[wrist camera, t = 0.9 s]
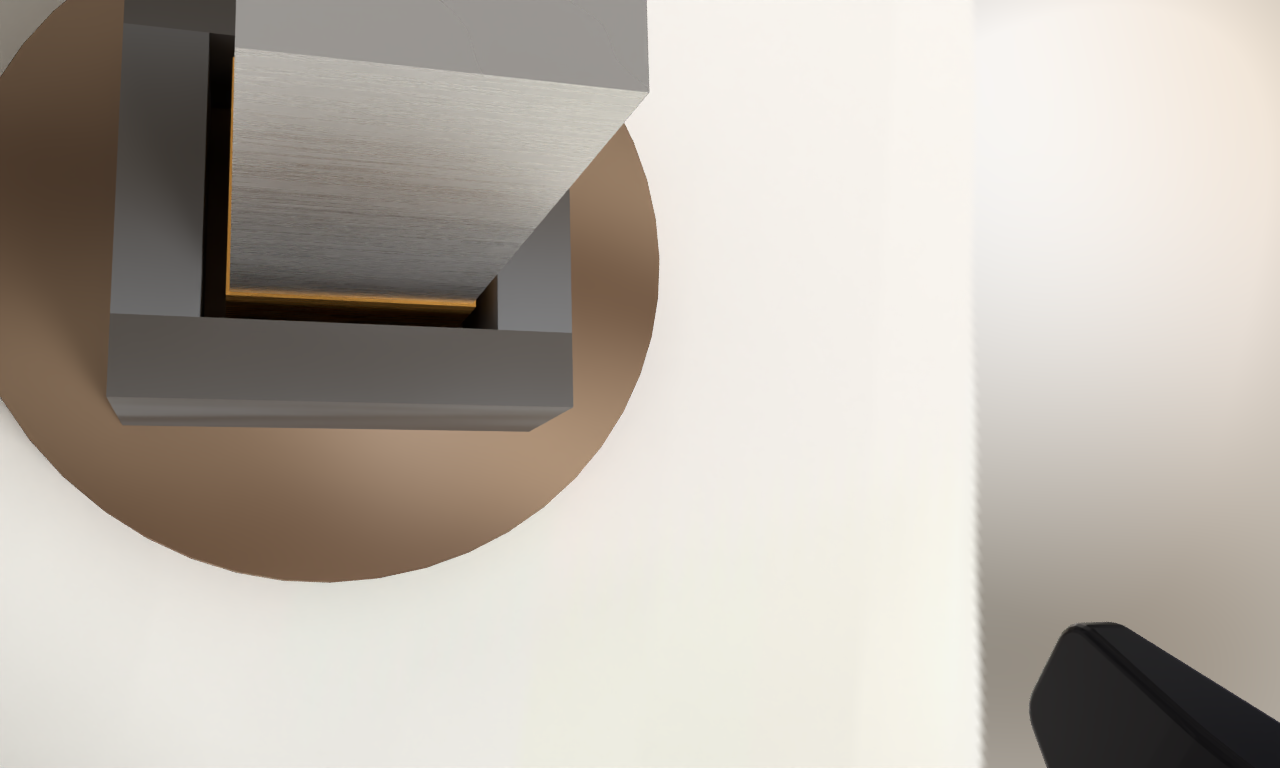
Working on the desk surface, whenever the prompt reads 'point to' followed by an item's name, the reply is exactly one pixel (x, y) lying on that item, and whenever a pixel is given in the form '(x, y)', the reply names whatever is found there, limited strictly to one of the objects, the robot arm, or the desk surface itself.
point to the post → (411, 146)
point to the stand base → (281, 328)
